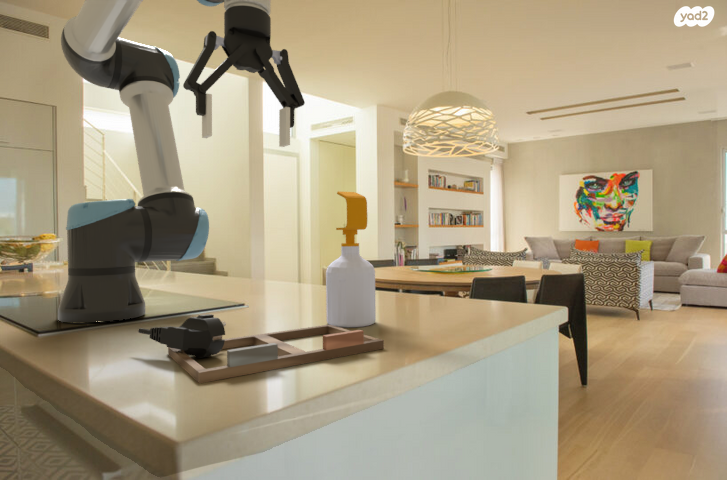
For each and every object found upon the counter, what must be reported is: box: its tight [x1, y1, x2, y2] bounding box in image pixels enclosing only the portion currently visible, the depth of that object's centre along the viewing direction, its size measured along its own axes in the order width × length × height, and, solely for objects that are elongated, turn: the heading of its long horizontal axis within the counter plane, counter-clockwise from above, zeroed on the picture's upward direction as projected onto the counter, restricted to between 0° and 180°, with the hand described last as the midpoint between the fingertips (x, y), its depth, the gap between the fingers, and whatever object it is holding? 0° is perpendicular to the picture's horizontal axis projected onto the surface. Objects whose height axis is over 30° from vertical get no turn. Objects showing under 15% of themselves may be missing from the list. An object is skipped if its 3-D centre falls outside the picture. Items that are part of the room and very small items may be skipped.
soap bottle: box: [325, 190, 377, 329], centre depth 86 cm, size 9×9×25 cm
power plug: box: [137, 313, 227, 359], centre depth 65 cm, size 6×8×12 cm
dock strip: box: [167, 324, 385, 384], centre depth 66 cm, size 15×26×3 cm, turn 125°
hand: (247, 141), depth 78 cm, fingers open, 13 cm apart
